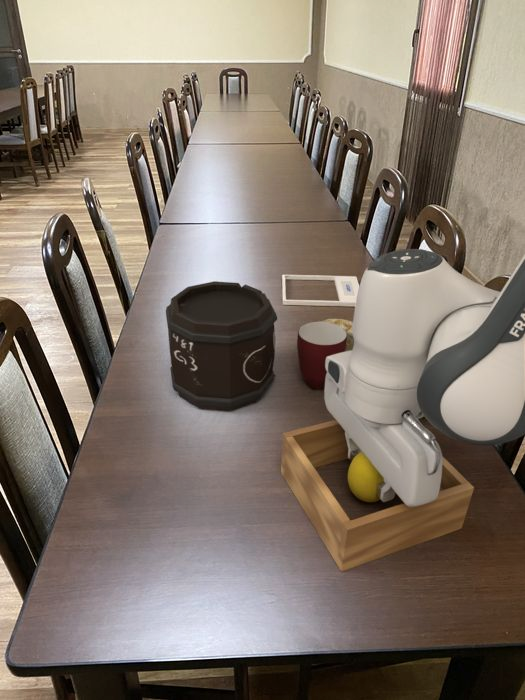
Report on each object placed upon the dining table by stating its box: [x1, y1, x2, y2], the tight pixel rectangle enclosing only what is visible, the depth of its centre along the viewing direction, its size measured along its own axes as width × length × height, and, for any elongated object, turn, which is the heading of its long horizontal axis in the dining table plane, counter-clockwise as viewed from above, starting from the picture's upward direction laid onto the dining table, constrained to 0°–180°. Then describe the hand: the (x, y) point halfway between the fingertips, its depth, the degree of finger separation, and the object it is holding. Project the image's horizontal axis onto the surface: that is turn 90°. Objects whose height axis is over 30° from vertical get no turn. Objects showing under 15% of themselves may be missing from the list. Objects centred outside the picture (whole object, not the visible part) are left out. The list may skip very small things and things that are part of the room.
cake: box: [320, 318, 354, 352], centre depth 104 cm, size 10×10×5 cm
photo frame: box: [281, 274, 360, 308], centre depth 124 cm, size 15×1×18 cm
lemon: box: [347, 452, 385, 503], centre depth 68 cm, size 6×6×8 cm
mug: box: [296, 320, 347, 390], centre depth 90 cm, size 11×8×10 cm
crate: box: [280, 419, 475, 573], centre depth 68 cm, size 17×17×7 cm
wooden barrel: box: [165, 281, 278, 412], centre depth 88 cm, size 18×18×16 cm
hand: (369, 477), depth 68 cm, fingers closed on lemon, 5 cm apart
